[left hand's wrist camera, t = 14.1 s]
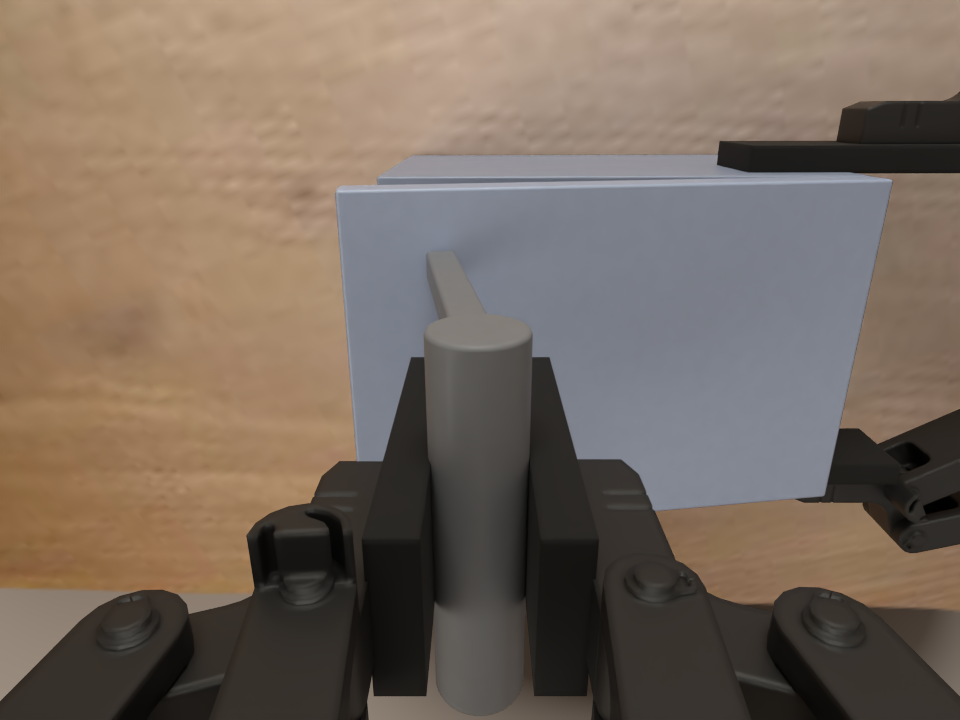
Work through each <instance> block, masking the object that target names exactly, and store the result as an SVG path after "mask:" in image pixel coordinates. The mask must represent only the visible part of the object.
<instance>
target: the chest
mask: <svg viewBox="0 0 960 720" xmlns="http://www.w3.org/2000/svg"><path fill="white" fill-rule="evenodd" d="M717 159H718V155H412V156H410V157H409V158H407V159H405V160H404V161H402V162H401V163H399V164H397V165H396V166H394V167H393V168H391V169H389V170H388V171H386V172H385V173H383V174H382V175H380V176H378V177H377V185H406V184H459V183H513V182H566V181H620V180H673V179H727V178H781V177H834V176H867V175H862V174H857V173H851V172H808V173H748V172H743V171H739V170H735V169H731V168H727V167H723V166H719V165H717Z"/></svg>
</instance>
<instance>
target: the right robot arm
mask: <svg viewBox="0 0 960 720" xmlns="http://www.w3.org/2000/svg"><path fill="white" fill-rule="evenodd" d="M717 165H719V166H723V167H727V168H731V169H735V170H739V171H743V172H748V173H808V172H851V173H960V92H959V93H958V94H957V95H955V96H954V97H952V98H950V99H947V100H945V101H872V102H859V103H856V104H854V105H851V106H848V107H846V108H843V109H842V115H841V120H840V126H839V131H838V136H837V141H720V143H719V151H718V159H717ZM796 500H799V501H801V502H804V503H819V502H822V503H831V502H833V503H863V507H864V510H865V511H866V512H867V513H868V514H869V515H870V516H871V517H872V518H873V519H874V520H875V521H876V522H877V523H878V524H879V525H880V527H881V528H882V529H883V530H884V531H885V532H886V533H887V534H888V535H889V536H890V537H891V538H892V539H893V540H894V541H895V542H896V543H897V544H898V545H899V547H900V548H901V549H903V550H904V551H905V552H908V553H918V552H923V551H928V550H933V549H938V548H943V547H948V546H953V545H958V544H960V409H959V410H956V411H954V412H952V413H949V414H947V415H945V416H942V417H940V418H938V419H935V420H933V421H931V422H928V423H926V424H924V425H921V426H919V427H917V428H914V429H912V430H910V431H907V432H905V433H903V434H900V435H898V436H896V437H893V438H891V439H889V440H886V441H884V442H882V443H879V444H876V443H875V442H874V441H873V440H872V439H870V438H869V437H868V436H867V435H866V434H864V433H863V432H862V431H861V430H860V429H839V432H838V436H837V441H836V445H835V450H834V455H833V459H832V464H831V468H830V473H829V478H828V482H827V487H826V491H825V495H824V496H821V497H810V498H799V499H796Z"/></svg>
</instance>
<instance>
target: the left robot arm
mask: <svg viewBox="0 0 960 720" xmlns="http://www.w3.org/2000/svg"><path fill="white" fill-rule="evenodd" d="M247 542H248V548H249V555H250V561H251V567H252V574H253V580H254V587H255V589H254V592H253V595H252V596H250V597H248V598H246V599H244V600H242V601H239V602H236V603H233V604H230V605H226V606H222V607H218V608H214V609H209V610H205V611H201V612H196V613H192V614H189V613H188V608H187V604H186V603H185V602H184V601H183V600H182V599H181V598H180V596H179V595H177V594H174V593H171V592H168V591H165V590H141V591H137V592H134V593H130V594H126V595H122V596H119V597H117V598H115V599H113V600H111V601H109V602H107V603H105V604H103V605H101V606H99V607H97V608H96V609H95V610H93V611H92V612H91V613H90V614H88V615H87V616H86V617H84V618H83V619H82V620H81V621H80V622H79V623H78V624H77V625H76V626H75V627H74V628H73V629H72V630H71V631H70V632H69V633H68V634H67V635H66V636H65V637H64V638H63V639H62V640H61V641H60V642H59V643H58V644H57V645H56V646H55V647H54V648H53V649H52V650H51V651H50V652H49V653H48V654H47V655H46V656H45V657H44V658H43V659H42V660H41V661H40V662H39V663H38V664H37V665H36V666H35V667H34V668H33V669H32V670H31V671H30V672H29V673H28V674H27V675H26V676H25V677H24V678H23V679H22V680H21V681H20V682H19V683H18V684H17V685H16V686H15V687H14V688H13V689H12V690H11V691H10V692H9V693H8V694H7V695H6V696H5V697H4V698H3V699H2V700H1V701H0V720H369V719H368V707H367V698H368V693H369V688H370V682H371V677H372V679H373V691H374V696H426V693H427V682H428V671H429V660H430V649H431V638H432V627H433V616H434V605H435V591H434V560H433V529H432V498H431V466H430V462H429V459H428V443H427V416H426V388H425V360H424V357H411V359H410V363H409V367H408V370H407V374H406V378H405V381H404V385H403V389H402V392H401V396H400V400H399V403H398V407H397V411H396V414H395V418H394V422H393V425H392V429H391V433H390V436H389V440H388V444H387V447H386V451H385V455H384V458H383V461H339V462H338V463H337V464H336V465H335V466H333V467H332V468H331V469H330V470H329V471H328V472H326V473H325V474H324V475H323V476H322V477H321V480H320V482H319V484H318V487H317V489H316V491H315V496H314V497H313V498H312V501H311V503H310V504H309V503H308V504H301V505H295V506H288V507H286V508H283V509H280V510H278V511H275V512H272V513H270V514H268V515H267V516H266V517H264V518H263V519H261V520H260V521H258V522H257V523H255V525H254V526H253V527H252V529H251V530H250V531H249V533H248V534H247ZM525 598H526V609H527V620H528V631H529V642H530V654H531V665H532V676H533V687H534V696H587V685H588V673H589V676H590V682H591V687H592V692H593V707H592V719H591V720H960V696H959V695H958V694H957V693H956V692H955V691H954V690H953V689H952V688H951V687H950V686H949V685H948V684H947V683H946V682H945V681H944V680H943V679H942V678H941V677H940V676H939V675H938V674H937V673H936V672H935V671H934V670H933V669H932V668H931V667H930V666H929V665H928V664H927V663H926V662H925V661H924V660H923V659H922V658H921V657H920V656H919V655H918V654H917V653H916V652H915V651H914V650H913V649H912V648H911V647H910V646H909V645H908V644H907V643H906V642H905V641H904V640H903V639H902V638H901V637H900V636H899V635H898V634H897V633H896V632H895V631H894V630H893V629H892V628H891V627H890V626H889V625H888V624H887V623H886V622H885V621H884V620H883V619H882V618H881V617H879V616H878V615H877V614H875V613H874V612H873V611H872V610H870V609H869V608H868V607H866V606H865V605H864V604H862V603H860V602H858V601H856V600H854V599H852V598H850V597H848V596H846V595H844V594H842V593H838V592H834V591H830V590H826V589H823V588H815V587H798V588H794V589H791V590H788V591H785V592H783V593H782V594H781V595H780V596H779V597H778V598H777V599H776V600H775V602H774V607H773V611H767V610H763V609H759V608H754V607H750V606H746V605H741V604H737V603H733V602H730V601H727V600H724V599H720V598H718V597H716V596H714V595H712V594H710V593H707V591H706V588H705V586H704V585H703V583H702V581H701V580H700V578H699V577H698V575H697V574H696V573H695V572H693V571H692V570H691V569H689V568H688V567H687V566H686V565H684V564H683V563H681V562H678V561H676V560H675V557H674V555H673V553H672V550H671V548H670V546H669V543H668V541H667V539H666V536H665V534H664V532H663V529H662V527H661V525H660V522H659V520H658V518H657V515H656V513H655V511H654V510H653V508H652V504H651V501H650V499H649V497H648V495H646V490H645V487H644V485H643V483H642V480H641V478H640V476H639V474H638V473H637V472H636V471H634V470H633V469H632V468H631V467H630V466H629V465H627V464H626V463H625V462H624V461H623V460H621V459H577V456H576V452H575V449H574V445H573V441H572V438H571V434H570V430H569V427H568V423H567V419H566V416H565V412H564V408H563V405H562V401H561V397H560V394H559V390H558V386H557V383H556V379H555V375H554V372H553V368H552V364H551V361H550V357H532V383H531V420H530V457H529V487H528V522H527V556H526V590H525Z"/></svg>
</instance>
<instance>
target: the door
mask: <svg viewBox="0 0 960 720" xmlns="http://www.w3.org/2000/svg"><path fill="white" fill-rule="evenodd" d="M892 183H893V182H892V180H891V179H886V178H879V177H872V176H834V177H781V178H727V179H673V180H620V181H566V182H513V183H459V184H406V185H352V186H339V187H338V188H337V190H336V193H335V198H336V210H337V223H338V235H339V247H340V260H341V272H342V284H343V297H344V309H345V322H346V334H347V346H348V359H349V371H350V383H351V396H352V408H353V420H354V433H355V445H356V457H357V461H383V458H384V455H385V451H386V447H387V444H388V440H389V436H390V433H391V429H392V425H393V422H394V418H395V414H396V411H397V407H398V403H399V400H400V396H401V392H402V389H403V385H404V381H405V378H406V374H407V370H408V367H409V363H410V359H411V357H424V360H425V388H426V416H427V443H428V459H429V462H430V466H431V498H432V529H433V560H434V591H435V605H434V637H435V664H436V684H437V688H438V691H439V693H440V695H441V696H442V698H443V699H444V700H445V702H446V703H447V704H448V705H449V706H451V707H452V708H454V709H455V710H457V711H459V712H462V713H464V714H468V715H473V716H486V715H491V714H495V713H498V712H500V711H502V710H504V709H506V708H507V707H508V706H510V705H511V704H512V703H513V702H514V701H515V699H516V698H517V697H518V695H519V693H520V691H521V689H522V686H523V676H524V638H525V603H526V598H525V590H526V556H527V522H528V487H529V457H530V420H531V383H532V357H550V361H551V364H552V368H553V372H554V375H555V379H556V383H557V386H558V390H559V394H560V397H561V401H562V405H563V408H564V412H565V416H566V419H567V423H568V427H569V430H570V434H571V438H572V441H573V445H574V449H575V452H576V456H577V459H621V460H623V461H624V462H625V463H626V464H627V465H629V466H630V467H631V468H632V469H633V470H634V471H636V472H637V473H638V474H639V476H640V478H641V480H642V483H643V485H644V487H645V490H646V495H648V497H649V499H650V501H651V504H652V508H653V510H654V511H664V510H675V509H687V508H698V507H709V506H720V505H731V504H743V503H754V502H765V501H776V500H788V499H799V498H810V497H821V496H824V495H825V491H826V487H827V482H828V478H829V473H830V468H831V464H832V459H833V455H834V450H835V445H836V441H837V436H838V432H839V427H840V422H841V418H842V413H843V409H844V404H845V399H846V395H847V390H848V386H849V381H850V376H851V372H852V367H853V363H854V358H855V353H856V349H857V344H858V340H859V335H860V330H861V326H862V321H863V317H864V312H865V307H866V303H867V298H868V294H869V289H870V284H871V280H872V275H873V271H874V266H875V261H876V257H877V252H878V248H879V243H880V238H881V234H882V229H883V225H884V220H885V215H886V211H887V206H888V202H889V197H890V192H891V188H892Z"/></svg>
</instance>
